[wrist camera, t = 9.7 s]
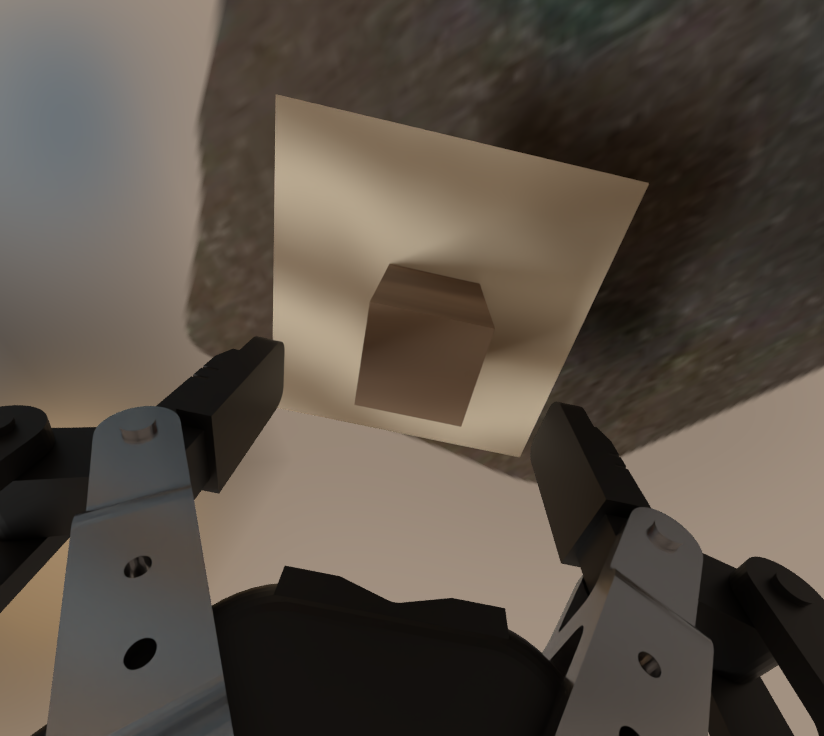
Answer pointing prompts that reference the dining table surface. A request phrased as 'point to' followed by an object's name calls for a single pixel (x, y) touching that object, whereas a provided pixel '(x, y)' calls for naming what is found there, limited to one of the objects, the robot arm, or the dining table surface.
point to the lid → (431, 274)
